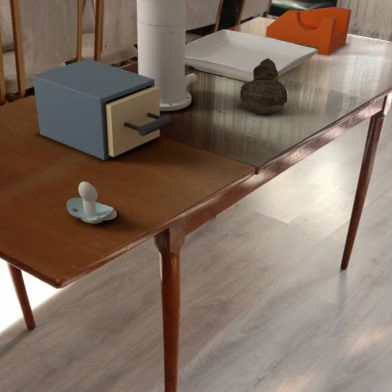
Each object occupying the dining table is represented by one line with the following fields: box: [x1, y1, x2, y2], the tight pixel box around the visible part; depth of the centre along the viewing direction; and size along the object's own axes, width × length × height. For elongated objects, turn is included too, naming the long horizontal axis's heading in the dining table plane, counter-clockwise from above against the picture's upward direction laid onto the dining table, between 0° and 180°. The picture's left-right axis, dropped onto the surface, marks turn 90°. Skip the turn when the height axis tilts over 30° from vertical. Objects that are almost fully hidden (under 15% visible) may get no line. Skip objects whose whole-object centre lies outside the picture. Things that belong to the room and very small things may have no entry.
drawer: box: [104, 86, 172, 158], centre depth 112 cm, size 20×12×9 cm, turn 52°
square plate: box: [185, 29, 318, 83], centre depth 151 cm, size 27×27×4 cm
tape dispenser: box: [265, 6, 352, 56], centre depth 166 cm, size 18×13×8 cm
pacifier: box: [66, 181, 118, 225], centre depth 93 cm, size 7×6×6 cm
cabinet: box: [32, 58, 155, 161], centre depth 114 cm, size 17×14×11 cm
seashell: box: [239, 58, 288, 115], centre depth 128 cm, size 11×12×10 cm
